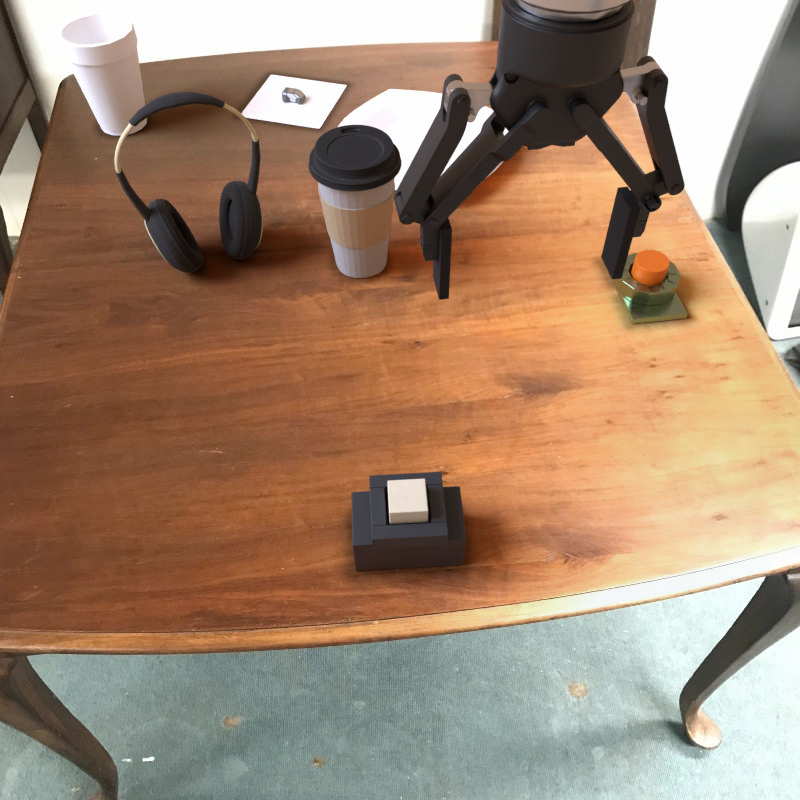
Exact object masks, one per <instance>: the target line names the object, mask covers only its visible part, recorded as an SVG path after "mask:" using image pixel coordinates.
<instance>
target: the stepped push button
mask: <svg viewBox="0 0 800 800" xmlns="http://www.w3.org/2000/svg"><path fill="white" fill-rule="evenodd" d="M442 474H443V473H442V471H427V472H410V473H409V472H408V473H391V474H375V475H373V474H372V475H368V483H369V485H368V486H369V490H366V491H363V490H362V491H351V497H350V499H351V538H352V539H351V540H352V542H351V543H352V553H353V560H354V561H353V563H354V571H356V572H362V571H364V572H365V571H378V570H379V571H380V570H398V569H399V570H400V569H415V568H431V567H432V568H433V567H447V566H463V565H464V564H465V556H466V547H467V532H466V531H467V530H466V524H465V517H464V516H465V515H464V508H463V500H462V493H461V486H460V485H455V486H444V484H443V475H442ZM408 479H425V481H426V492H427V502H428V522H420V523H402V524H390V521H389V503H388V483H387V482H388V481H390V480H408Z"/></svg>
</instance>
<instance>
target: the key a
mask: <svg viewBox="0 0 800 800" xmlns="http://www.w3.org/2000/svg"><path fill="white" fill-rule="evenodd" d="M387 483H388V503H389V521H390V524H402V523H420V522H428V502H427V492H426V481H425V479H408V480H390V481H388V482H387Z"/></svg>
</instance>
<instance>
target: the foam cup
mask: <svg viewBox="0 0 800 800" xmlns="http://www.w3.org/2000/svg"><path fill="white" fill-rule="evenodd" d="M55 39H56V41H57V43H58V46H59V50H60V52H61V54H62V56H63V57H64V59H65V60H66V62H67V64H68V65H69V67H70V69H71V71H72V73H73V75H74V77H75V80H76V81H77V84H78V85H79V87H80V89H81V91H82V94H83V95H84V97H85V100H86V101H87V103H88V106H89V107H90V109H91V111H92V114H93V115H94V117H95V119H96V121H97V123H98V125H99V126H100V129H101V130H102V131H103V133H105V134H108V135H110V136H120V137H121V135H122V133H123V132H124V130H125V129H126V127H127V126H128V124H129V121H130V120H131V118H132V117H133V116H134V115H135V114H136V113H137V111H138V110H139V109H141V108H142V107H144V106H145V105H146V101H145V93H144V87H143V80H142V71H141V67H140V66H141V65H140V59H139V53H138V37H137V34H136V30H135V25H134V23H133V21H132V20H131V19H130V18H129V17H128V16H126V15H124V14H120V13H117V12H107V11H106V12H105V11H104V12H103V11H102V12H101V11H100V12H99V11H97V12H92V13H86V14H81V15H78V16H76V17H73V18H71V19H68V20H66V21H65V22H64V23H63V24H61V25H60V26H59V27H58V28H57V30H56V35H55ZM147 123H148V118H146V119H145V120H143V121H142V122H140V123H139V124H138V125H137V126H134V127H133V128H132V130H131V131H130V132H129V134H128V135H132V134H135V133H137V132H139V131H140V130H142V129H143V128H144V127H146V125H147Z"/></svg>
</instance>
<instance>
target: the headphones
mask: <svg viewBox="0 0 800 800" xmlns="http://www.w3.org/2000/svg"><path fill="white" fill-rule="evenodd" d="M189 105H190V106H191V105H201V106H202V105H204V106H211V107H216V108H219V109H222V108H223V109H225V110H226V111H228V112H230V113H232V114H234V115H235V116H236V117H238V118H239V119H240V120H241V121H242V122H243V124H244V125H246V127H247V129H248V130H249V132H250V134H251V153H252V154H251V162H250V163H251V165H250V170H249V175H248V180H247V183H246V181H243V180H231V181H229V182H227V183H226V184H225V186H224V187H223V188H222V191H221V193H220V194H221V195H220V199H219V208H218V209H219V211H218V223H219V232H220V239H221V243H222V247H223V249H224V251H225V253H226V254H227V255H228V256H229V257H230V258H232V259H235V260H245V259H248V258H249V257H250V256H251V255H252V254H253V253H254V252H255V251H256V249H257V248H259V246H260V244H261V241H262V237H263V228H264V227H263V226H264V225H263V224H264V221H263V220H264V218H263V208H262V204H261V200H260V197H259V196H258V194H257V192H258V185H259V178H260V169H261V148H260V147H261V146H260V139H259V138H258V134H257V131H256V130H255V128H254V126H253V125H252V123H251V122H250V121H249V120H248V118H245V117H244V116H243V115H242V114H241V113H242V112H240V111H239V110H237V109H236V108H235V107H233V106H231V105H229V104H227V103H226V102H225V100H222V99H220V98H218V97H215V96H214V95H212V94H207V93H202V92H198V91H189V90H187V91H176V92H169V93H167V94H163V95H161V96H158V97H155V98H154V99H152V100H150V101H148V103H145V106H144V107H142V108H141V109H139V110H138V111H137V113H136V114H135V115H134V116H133V117H132V118H131V120H130V121H129V124H128V126H127V127H126V129H125V130H124V132H123V133H122V135H121V136H120V137H119V139H118V141H117V144H116V147H115V150H114V151H115V152H114V169H115V170H114V172H115V175H116V177H117V179H118V182H119V184H120V186H121V188H122V190H123V192H124V193H125V195H126V196H127V198H128V199H129V201H130V202H131V203H132V205H133V207H134V208H135V209H136V210H137V212H138V213H139V214H140V215H141V217H142V218H143V220H144V226H145V229H146V231H147V234H148V235H149V238H150V240H151V241H152V243H153V245H154V247H155V248H156V250H157V252H158V253H159V254H160V256H161V258H163V260H164V261H165V262H166V263H167V264H168V265H169V266H170V267H171V268H172V269H173V270H177V271H180V272H183V273H186V274H187V273H188V274H191V273H195V272H197V271H198V270H200V269H201V268H202V267H203V264H204V256H203V253H202V250H201V249H200V246H199V244H198V242H197V239H196V238H195V236H194V234H193V233H192V231H191V229H190V228H189V226H188V224H187V222H186V221H185V219H184V218H183V216H182V215H181V214H180V212H179V210H177V209H176V207H175V206H174V205H173V204H172V202H170V201H169V200H167V199H165V198H156V199H154V200H152V201H150V202H149V203H148V204H146V203H145V202H144V201H143V200H142V199H141V197H140V196H139V195H138V194H137V193H136V191H135V189H134V188H133V186H131V184H130V182H129V180H128V178H127V175H126V174H125V172H124V170H123V168H121V164H120V157H121V150H122V147H123V145H124V142H125V140H126V139H127V137H128V136H129V135H130V134H129V132H130V131H131V130H132V128H133V127H134V126H137V125H138V124H139V123H140V122H142V121H143V120H145V119H146V118H147V119H149V118H150V117H152V116H154V115H156V114H157V113H159V112H164V111H166V110H170V109H171V110H172V109H177V108H180V107H185V106H189Z"/></svg>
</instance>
